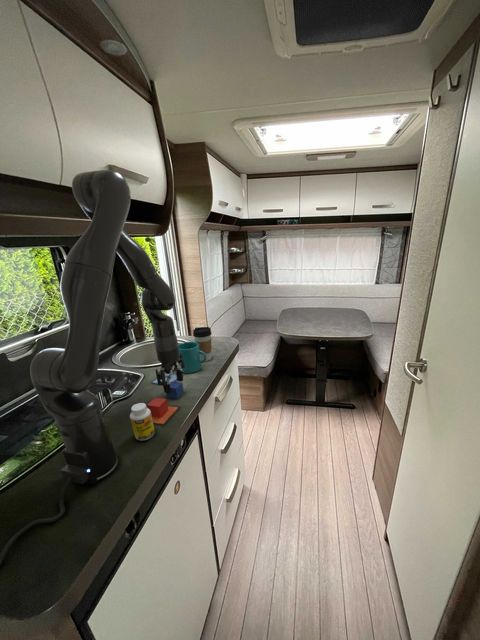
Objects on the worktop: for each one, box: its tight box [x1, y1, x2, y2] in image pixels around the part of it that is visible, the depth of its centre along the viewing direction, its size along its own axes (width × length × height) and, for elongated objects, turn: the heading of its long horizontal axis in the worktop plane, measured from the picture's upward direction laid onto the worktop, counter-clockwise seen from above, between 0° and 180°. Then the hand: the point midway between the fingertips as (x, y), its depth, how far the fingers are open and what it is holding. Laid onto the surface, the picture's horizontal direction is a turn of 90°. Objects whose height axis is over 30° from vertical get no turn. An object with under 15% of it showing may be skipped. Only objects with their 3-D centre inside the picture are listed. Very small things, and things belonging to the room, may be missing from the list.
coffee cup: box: [192, 326, 212, 362], centre depth 129 cm, size 8×8×15 cm
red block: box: [146, 397, 169, 418], centre depth 92 cm, size 4×4×4 cm
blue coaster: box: [151, 373, 177, 385], centre depth 114 cm, size 8×8×1 cm
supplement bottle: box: [129, 402, 156, 442], centre depth 81 cm, size 6×6×10 cm
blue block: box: [165, 381, 184, 400], centre depth 102 cm, size 4×4×4 cm
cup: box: [178, 341, 207, 374], centre depth 120 cm, size 9×12×11 cm
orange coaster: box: [152, 405, 179, 425], centre depth 92 cm, size 9×9×1 cm
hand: (174, 386), depth 102 cm, fingers open, 8 cm apart
